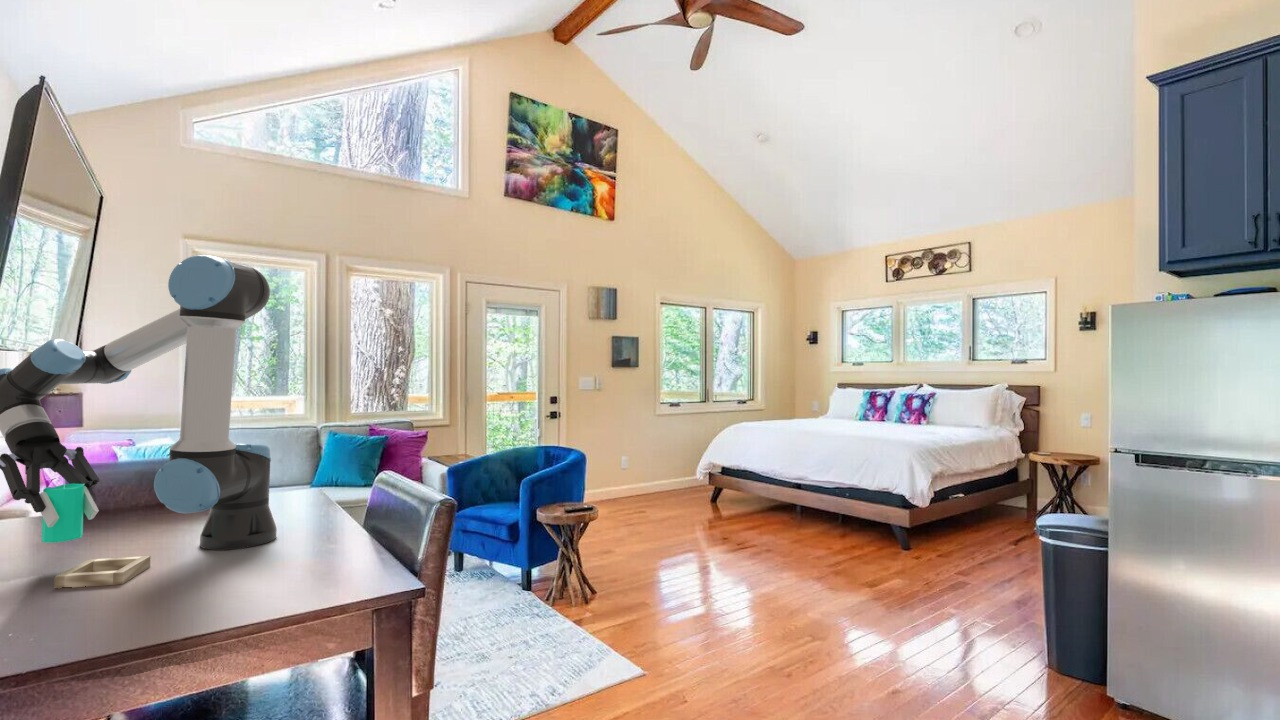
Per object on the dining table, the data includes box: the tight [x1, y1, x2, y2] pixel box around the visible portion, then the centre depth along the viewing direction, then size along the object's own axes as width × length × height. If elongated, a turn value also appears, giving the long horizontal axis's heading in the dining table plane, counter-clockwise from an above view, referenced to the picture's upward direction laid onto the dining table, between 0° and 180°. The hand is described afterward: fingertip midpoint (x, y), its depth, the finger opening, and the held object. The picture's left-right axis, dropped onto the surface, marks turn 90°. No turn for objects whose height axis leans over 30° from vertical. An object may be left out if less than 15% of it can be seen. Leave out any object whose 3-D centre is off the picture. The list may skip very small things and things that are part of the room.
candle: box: [41, 478, 84, 544], centre depth 123 cm, size 6×6×12 cm
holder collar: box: [53, 555, 152, 589], centre depth 119 cm, size 10×10×2 cm
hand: (74, 518), depth 122 cm, fingers closed on candle, 6 cm apart
